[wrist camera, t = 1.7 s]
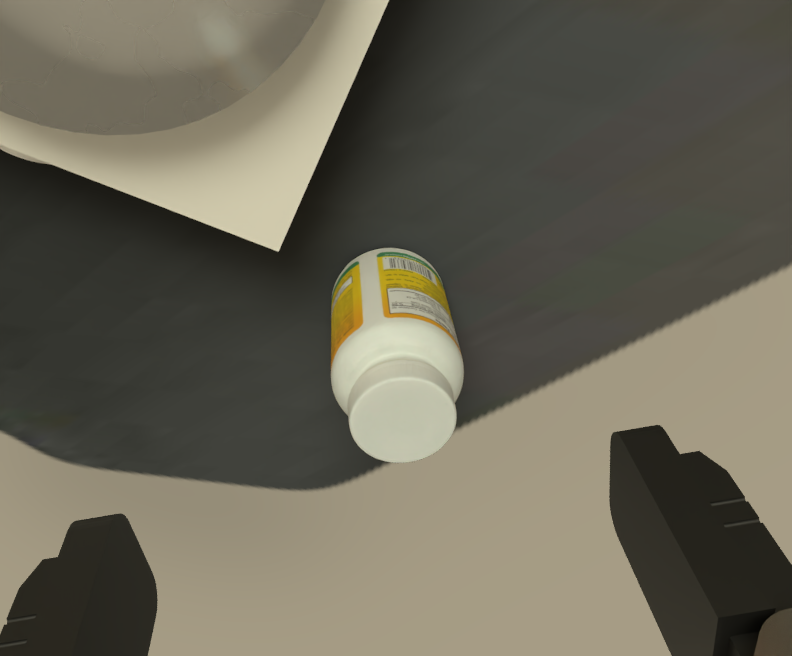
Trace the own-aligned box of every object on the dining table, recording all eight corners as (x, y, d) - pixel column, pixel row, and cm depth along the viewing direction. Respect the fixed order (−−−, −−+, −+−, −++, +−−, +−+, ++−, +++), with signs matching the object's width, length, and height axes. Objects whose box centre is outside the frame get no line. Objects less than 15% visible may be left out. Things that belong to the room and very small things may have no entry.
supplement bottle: (422, 228, 34) (453, 341, 26) (457, 322, 37) (494, 451, 29) (312, 268, 35) (307, 391, 27) (354, 357, 37) (362, 493, 29)
